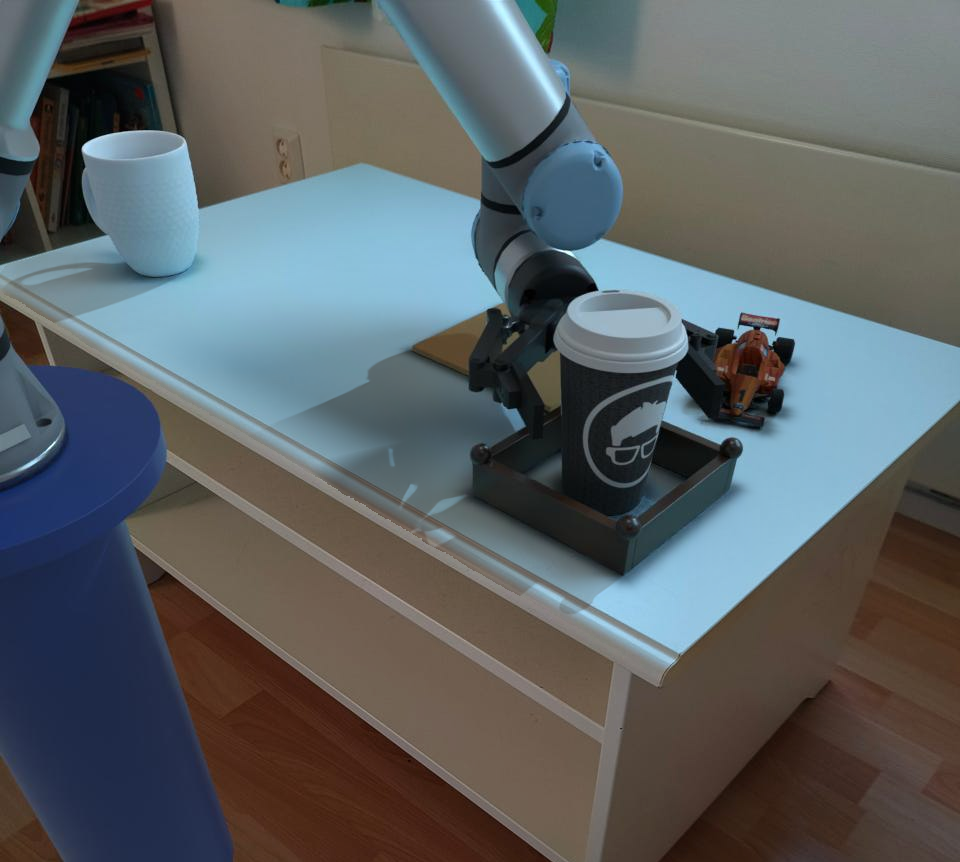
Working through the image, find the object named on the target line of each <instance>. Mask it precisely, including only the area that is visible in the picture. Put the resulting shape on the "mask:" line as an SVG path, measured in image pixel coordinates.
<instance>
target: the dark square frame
mask: <svg viewBox="0 0 960 862" xmlns="http://www.w3.org/2000/svg"><path fill="white" fill-rule="evenodd" d="M560 450H562V437H561V405H560V406H559V407H557V408H555V409H554V410H552V411H550V412H547V413H544V425H543V439H534V440H532V438H531V436H530V434H529V432H528V430H527V428H526V426H525V425H524V427H522V428H520V429H519V430H516V431H514V432H513V433H512V434H510V435H509V436H507V437H505V438H504V439H502V440H500V441H499V442H497V443H495V444H494V445H492V446H490V445H489V444H488V443H485V442H477V443H474V444H473V445H472V446H471V448H470V450H469V459H470V461H471V462H472V482H471V483H472V484H471V485H472V491H471V492H472V494H471V495H472V496H473V497H476V498H477V499H479V500H481V501H483V502H485V503H487V504H489V505H491V506H492V507H495V508H496V509H498V510H500V511H502V512H504V513H506V514H508V515H509V516H512V517H513V518H515V519H518V521H521V522H523V523H524V524H527V525H528V526H530V527H531V528H534V529H535V530H538V531H540V532H542V533H543V534H545V535H547V536H549V537H551V538H552V539H555V540H557V541H558V542H560V543H562V544H564V545H566V546H568V547H570V548H572V549H573V550H575V551H576V552H579V553H581V554H584V555H585V556H587V557H589V558H590V559H592V560H594V561H596V562H598V563H600V564H602V565H604V566H605V567H608V568H609V569H612V570H613V571H615V572H617V573H619V574H621V575H622V576H625V575H627V573H628V572H630V571H631V570H632V569H633V568H635V567H636V566H637V565H638V564H640V563H641V562H642V561H644V559H646V558H648V556H650V555H651V554H652V553H653V552H654V551H656V550H657V549H659V547H660V546H661V545H663V544H664V543H666V542H667V541H668V540H669V539H671V537H673V536H674V535H675V534H677V533H678V532H679V531H680V530H682V529H683V528H684V527H685V526H686V525H688V524H690V522H691V521H693V520H694V519H695V518H697V516H699V515H700V514H701V513H703V511H705V510H706V509H707V508H708V507H710V506H711V505H712V504H713V503H715V502H716V501H717V500H718V499H719V498H721V497H723V496H724V494H725V493H727V492H728V491H729V490H730V489H731V487H732V481H733V479H734V478H733V477H734V474H735V470H736V465H737V461H738V459H739V458H740V457H741V456H742V454H743V452H744V445H743V442H742V441H741V440H740V439H739V438H737V437H733V436H731V437H726V438H725V439H724V440H722V441H721V443H720V444H719V443H717V442H715V441H713V440H711V439H708V438H706V437H703V436H701V435H698V434H695V433H694V432H691V431H689V430H686V429H684V428H682V427H679V426H677V425H674V424H672V423H670V422H667V421H664V420H663V419H662V423H661V427H660V430H659V434H658V438H657V442H656V445H655V449H654V453H653V457H652V461H651V463H654V464H657V465H658V466H661V467H663V468H666V469H668V470H670V471H672V472H674V473H677V474H679V475H681V476H684V477H686V478H687V479H686V480H684V481H683V482H682V483H680V484H679V485H678V486H676V487H675V488H674V489H672V490H670V492H668V493H667V494H666V495H664V496H663V497H662V498H660V499H659V500H658V501H656V502H655V503H654V504H653V505H651V506H650V507H648V508H647V509H646V510H645V511H643V512H642V513H640V514H639V515H638V516H636V515H632V514H626V515H623V516H621V517H620V518H619V519H618V520H615V519H614V518H612V517H609V515H604V514H602V513H600V512H598V511H596V510H594V509H592V508H590V507H588V506H585V505H583V504H581V503H579V502H577V501H575V500H573V499H571V498H569V497H567V496H565V495H563V493H561V492H560V491H557V490H555V489H553V488H551V487H550V486H547V485H545V484H544V483H541V482H539V481H537V480H535V479H533V478H531V477H529V476H527V475H525V474H523V473H525V472H526V471H528V470H530V469H532V468H533V467H535V466H536V465H538V464H539V463H541V462H542V461H544V460H546V459H547V458H549V457H550V456H552V455H553V454H555V453H556V452H558V451H560Z"/></svg>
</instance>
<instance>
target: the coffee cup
mask: <svg viewBox="0 0 960 862" xmlns="http://www.w3.org/2000/svg"><path fill="white" fill-rule="evenodd" d="M681 319H682V314H681V312H680V310H679V308H678V307H677V306H676V305H675V304H674V303H672V302H671V301H669V300H667V299H666V298H663V297H661V296H658V295H656V294H652V293H649V292H646V291H640V290H633V289H617V288H616V289H601V290H599V291H595V292H591V293H587V294H584V295H582V296H579V297H578V298H576V299H574V300H573V301H572V302H571V303H570V304H569V306H568V308H567V311H566V314H565V315H564V316H563V317H562V318H561V319H560V321H559V323H558V325H557V327H556V330H555V333H554V338H553V340H554V344H555V346H556V348H557V349H558V350H559V352H560V376H561V437H562V448H561V491H562V494H563V495H565V496H567V497H569V498H571V499H573V500H575V501H577V502H579V503H581V504H583V505H585V506H588V507H590V508H592V509H594V510H596V511H598V512H600V513H602V514H604V515H606V516H614V515H620V514H624V513H627V512H629V511H632V510H633V509H635V508H636V507H637V506H638V505H639V504H640V503H641V501H642V498H643V494H644V490H645V487H646V484H647V480H648V475H649V471H650V468H651V464H652V457H653V453H654V449H655V445H656V442H657V438H658V434H659V430H660V427H661V423H662V420H663V419H664V415H665V411H666V407H667V403H668V401H669V398H670V397H669V396H670V393H671V389H672V386H673V382H674V378H675V376H676V371H677V370H676V367H677V364H678V362H679V361H680V360H681V359H682V358H683V357H684V356H685V355H686V353H687V351H688V337H687V333H686V329H685V327H684V325H683V324H682V320H681Z"/></svg>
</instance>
